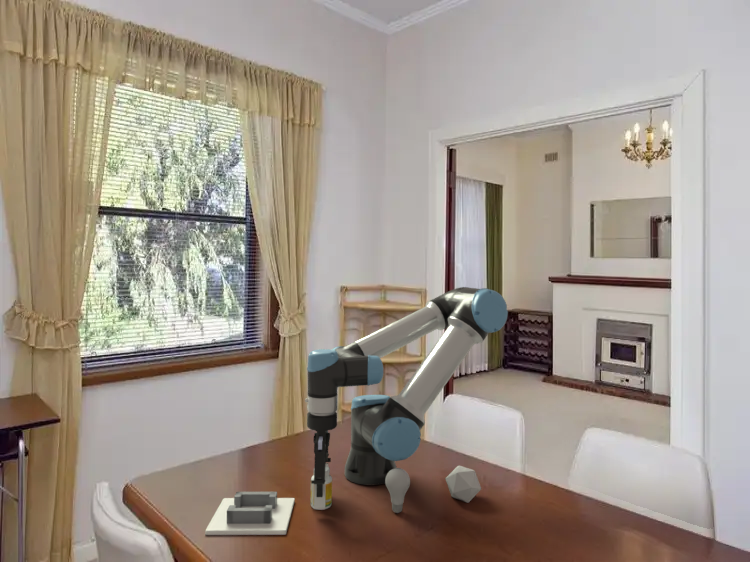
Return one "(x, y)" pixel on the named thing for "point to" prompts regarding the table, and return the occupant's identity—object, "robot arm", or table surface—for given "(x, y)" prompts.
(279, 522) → the socket
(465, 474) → the die
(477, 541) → the table surface
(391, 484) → the lightbulb
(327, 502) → the supplement bottle
